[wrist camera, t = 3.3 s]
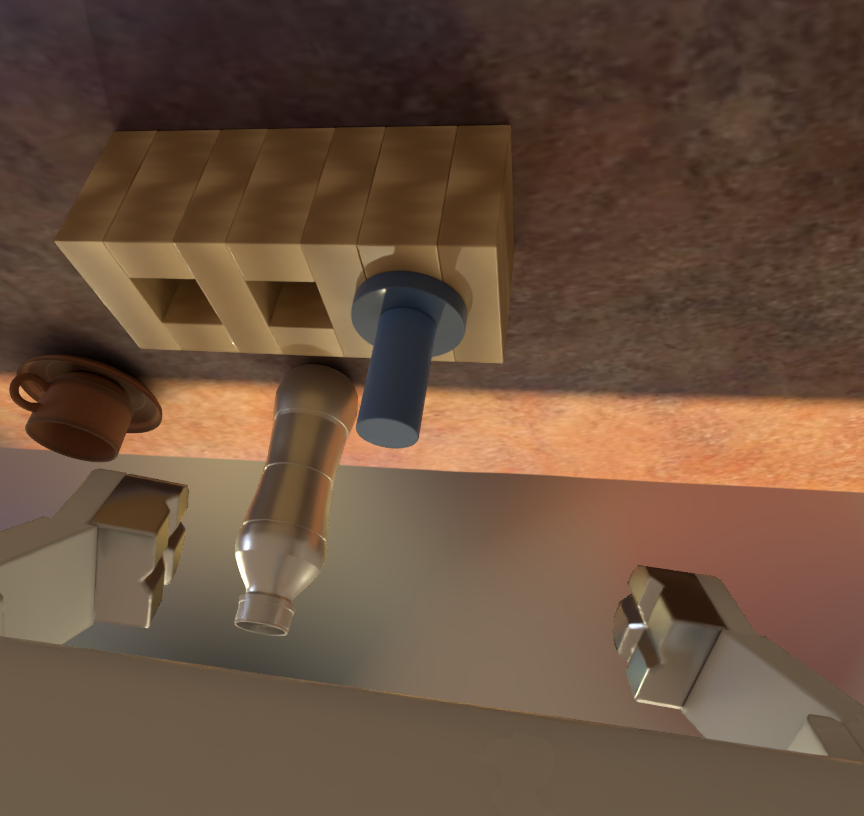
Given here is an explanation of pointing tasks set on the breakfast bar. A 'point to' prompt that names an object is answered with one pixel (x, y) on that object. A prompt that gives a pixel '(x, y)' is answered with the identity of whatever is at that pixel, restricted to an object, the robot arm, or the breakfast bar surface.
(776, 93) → the breakfast bar surface
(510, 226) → the rack
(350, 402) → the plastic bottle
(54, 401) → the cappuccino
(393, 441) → the peg
